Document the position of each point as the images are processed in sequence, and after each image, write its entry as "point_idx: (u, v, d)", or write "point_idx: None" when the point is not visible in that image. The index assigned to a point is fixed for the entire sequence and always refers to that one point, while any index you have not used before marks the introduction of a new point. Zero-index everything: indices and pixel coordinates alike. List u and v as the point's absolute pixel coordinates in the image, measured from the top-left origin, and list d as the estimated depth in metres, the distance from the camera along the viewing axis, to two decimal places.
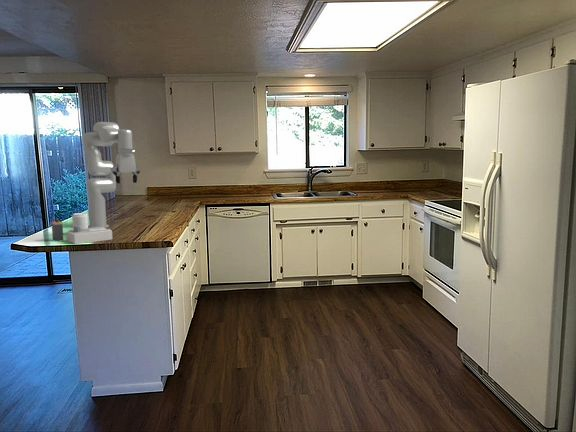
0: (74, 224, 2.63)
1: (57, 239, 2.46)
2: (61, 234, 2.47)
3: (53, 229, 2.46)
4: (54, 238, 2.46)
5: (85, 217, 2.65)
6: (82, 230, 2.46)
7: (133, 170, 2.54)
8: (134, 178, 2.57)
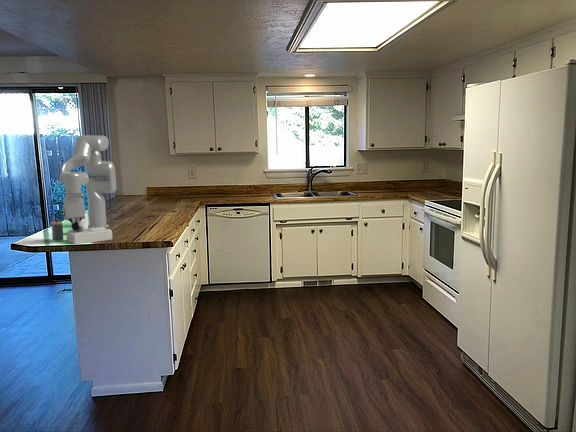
0: None
1: (57, 239, 2.46)
2: (61, 234, 2.47)
3: (53, 229, 2.46)
4: (54, 238, 2.46)
5: None
6: (85, 230, 2.48)
7: (82, 215, 2.43)
8: None
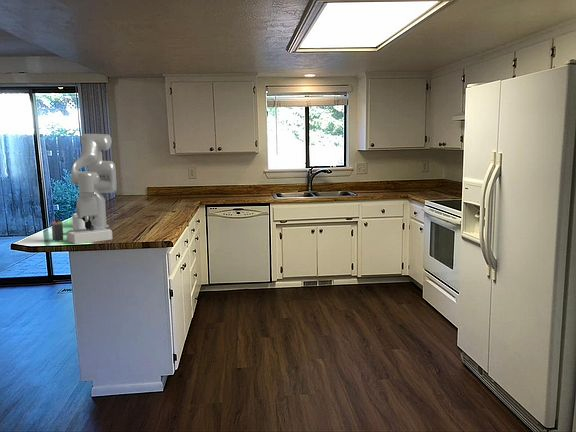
0: (74, 224, 2.63)
1: (57, 239, 2.46)
2: (61, 234, 2.47)
3: (53, 229, 2.46)
4: (54, 238, 2.46)
5: None
6: (98, 228, 2.52)
7: (95, 213, 2.48)
8: None
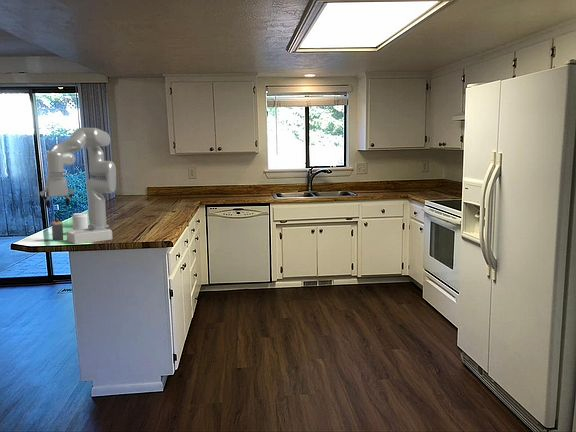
0: (74, 224, 2.63)
1: (57, 239, 2.46)
2: (61, 234, 2.47)
3: (53, 229, 2.46)
4: (54, 238, 2.46)
5: (85, 217, 2.65)
6: (98, 228, 2.52)
7: (65, 194, 2.46)
8: (66, 202, 2.48)
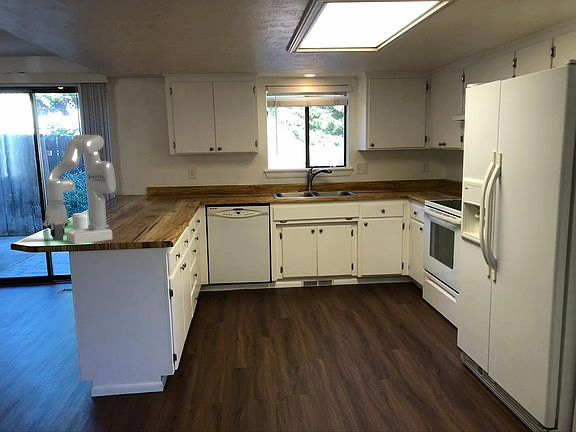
0: (74, 224, 2.63)
1: (57, 239, 2.46)
2: (61, 234, 2.47)
3: None
4: (54, 238, 2.46)
5: (85, 217, 2.65)
6: (98, 228, 2.52)
7: (64, 221, 2.48)
8: None
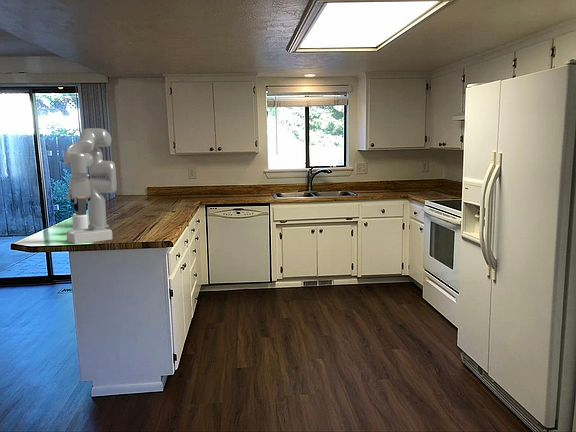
0: (74, 224, 2.63)
1: (80, 213, 2.42)
2: (84, 208, 2.43)
3: None
4: (77, 212, 2.43)
5: (85, 217, 2.65)
6: (98, 228, 2.52)
7: (87, 195, 2.44)
8: None
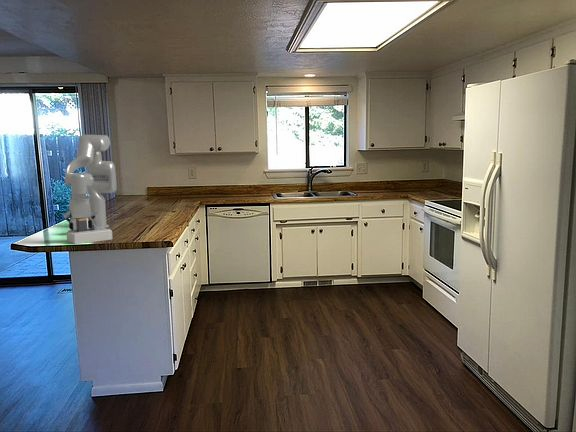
0: (74, 224, 2.63)
1: None
2: (85, 230, 2.45)
3: (77, 225, 2.44)
4: None
5: None
6: (98, 228, 2.52)
7: (88, 215, 2.45)
8: (89, 223, 2.48)
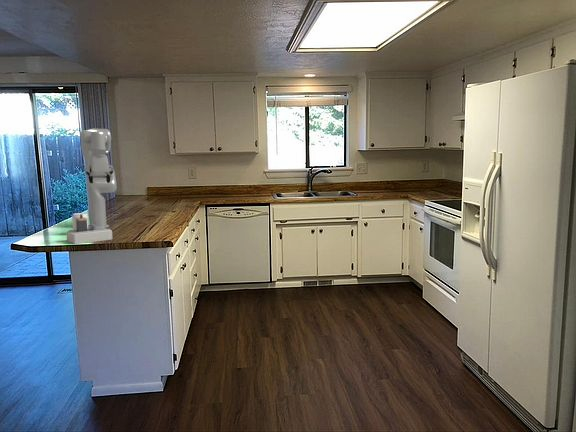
0: (74, 224, 2.63)
1: None
2: (85, 230, 2.45)
3: (77, 225, 2.44)
4: None
5: (85, 217, 2.65)
6: (98, 228, 2.52)
7: (106, 170, 2.63)
8: (107, 178, 2.65)
